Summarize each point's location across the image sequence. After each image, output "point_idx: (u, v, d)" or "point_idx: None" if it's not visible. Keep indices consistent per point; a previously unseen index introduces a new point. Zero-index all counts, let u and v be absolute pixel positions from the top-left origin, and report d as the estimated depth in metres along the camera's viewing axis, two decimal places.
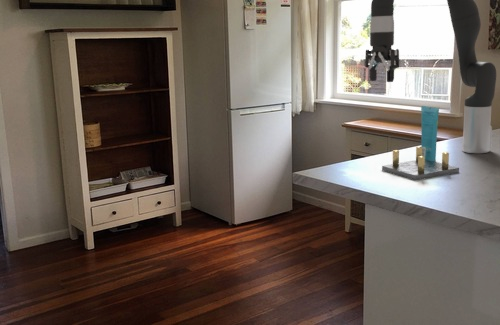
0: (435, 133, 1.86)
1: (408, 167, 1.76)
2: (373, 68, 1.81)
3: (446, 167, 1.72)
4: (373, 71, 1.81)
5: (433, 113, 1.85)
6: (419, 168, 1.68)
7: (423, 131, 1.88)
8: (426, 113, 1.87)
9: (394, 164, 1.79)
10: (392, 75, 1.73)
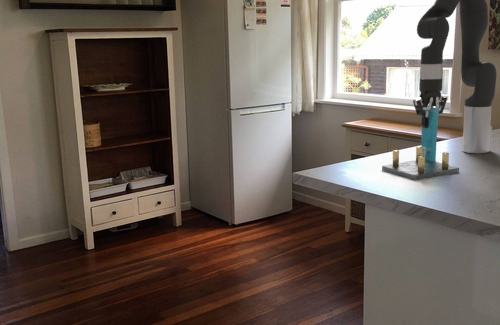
0: (435, 133, 1.86)
1: (408, 167, 1.76)
2: None
3: (446, 167, 1.72)
4: None
5: (433, 113, 1.85)
6: (419, 168, 1.68)
7: (423, 131, 1.88)
8: None
9: (394, 164, 1.79)
10: None
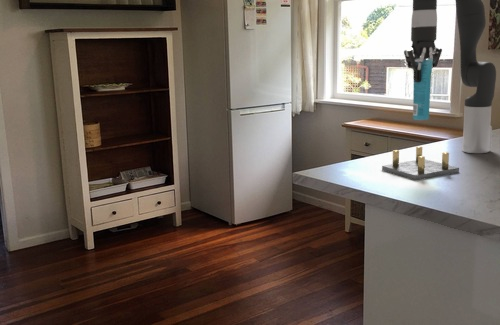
0: (428, 88, 1.68)
1: (408, 167, 1.76)
2: None
3: (446, 167, 1.72)
4: None
5: (426, 65, 1.67)
6: (419, 168, 1.68)
7: (415, 86, 1.71)
8: None
9: (394, 164, 1.79)
10: None
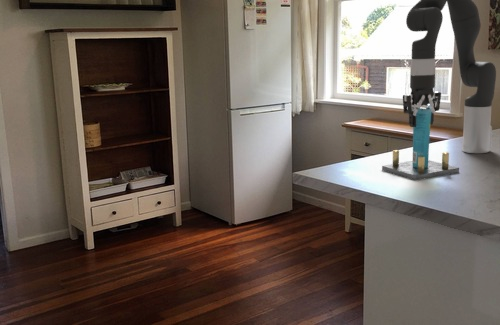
0: (427, 137, 1.72)
1: (408, 167, 1.76)
2: None
3: (446, 167, 1.72)
4: None
5: (425, 115, 1.71)
6: (419, 168, 1.68)
7: (415, 134, 1.74)
8: (418, 115, 1.73)
9: (394, 164, 1.79)
10: None
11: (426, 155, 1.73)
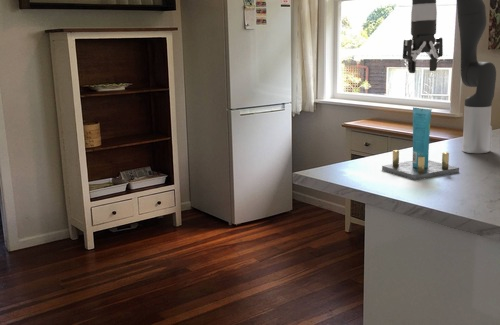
0: (427, 137, 1.72)
1: (408, 167, 1.76)
2: None
3: (446, 167, 1.72)
4: None
5: (425, 115, 1.70)
6: (419, 168, 1.68)
7: (414, 134, 1.74)
8: (418, 115, 1.73)
9: (394, 164, 1.79)
10: None
11: (426, 155, 1.73)
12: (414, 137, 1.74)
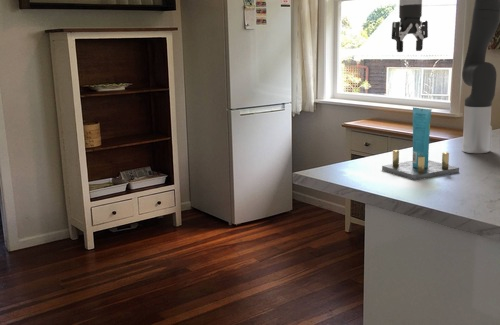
0: (427, 137, 1.72)
1: (408, 167, 1.76)
2: None
3: (446, 167, 1.72)
4: None
5: (425, 115, 1.70)
6: (419, 168, 1.68)
7: (414, 134, 1.74)
8: (418, 115, 1.73)
9: (394, 164, 1.79)
10: None
11: (426, 155, 1.73)
12: (414, 137, 1.74)
